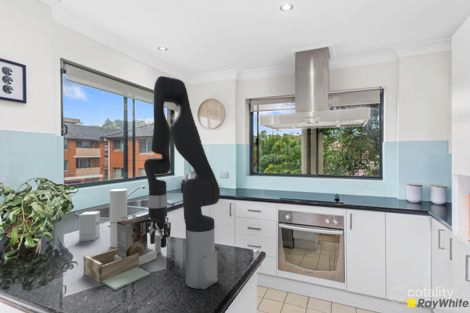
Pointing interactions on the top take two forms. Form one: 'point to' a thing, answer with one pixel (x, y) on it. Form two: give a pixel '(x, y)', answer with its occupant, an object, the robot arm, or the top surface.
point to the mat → (125, 278)
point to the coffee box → (132, 237)
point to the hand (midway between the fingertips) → (158, 245)
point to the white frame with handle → (151, 253)
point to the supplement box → (89, 226)
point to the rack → (108, 265)
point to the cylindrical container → (117, 212)
